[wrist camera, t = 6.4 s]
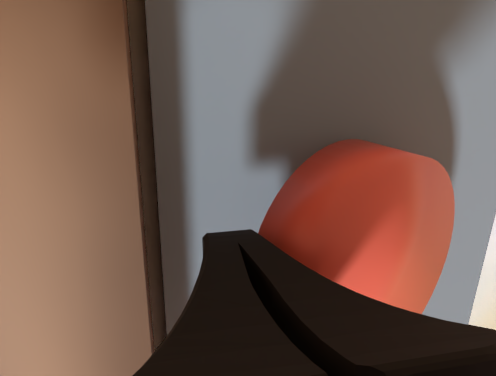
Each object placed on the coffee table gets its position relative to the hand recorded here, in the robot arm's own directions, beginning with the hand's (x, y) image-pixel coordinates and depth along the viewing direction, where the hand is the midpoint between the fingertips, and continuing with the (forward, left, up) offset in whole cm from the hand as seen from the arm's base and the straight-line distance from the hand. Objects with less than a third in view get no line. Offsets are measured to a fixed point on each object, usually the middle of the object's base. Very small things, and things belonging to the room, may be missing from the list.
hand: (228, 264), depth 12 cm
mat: (+5, 0, -4) cm, 6 cm away
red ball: (+4, -1, -2) cm, 4 cm away
